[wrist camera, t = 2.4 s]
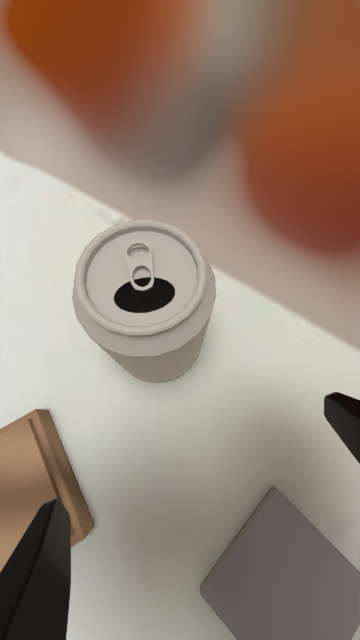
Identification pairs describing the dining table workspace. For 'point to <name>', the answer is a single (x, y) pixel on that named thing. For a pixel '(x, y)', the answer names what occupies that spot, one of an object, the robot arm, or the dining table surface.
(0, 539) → the plinth
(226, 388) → the dining table surface
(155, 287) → the can
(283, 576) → the slate coaster
